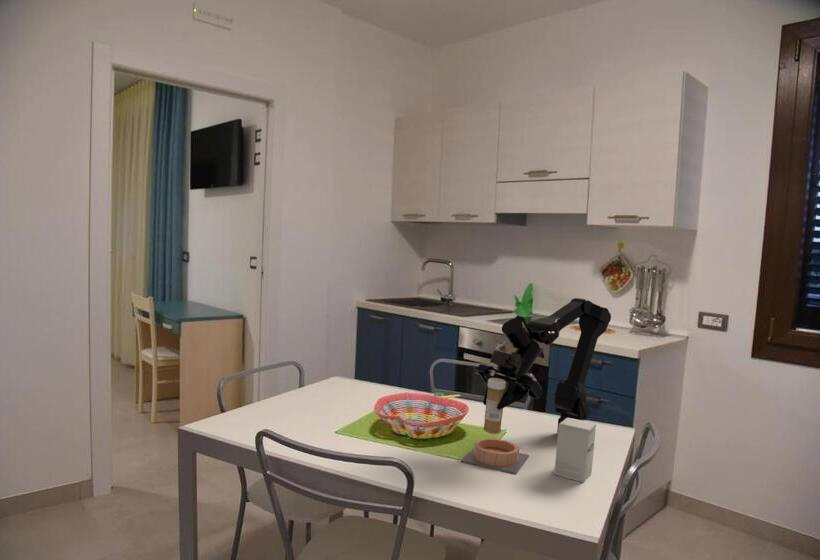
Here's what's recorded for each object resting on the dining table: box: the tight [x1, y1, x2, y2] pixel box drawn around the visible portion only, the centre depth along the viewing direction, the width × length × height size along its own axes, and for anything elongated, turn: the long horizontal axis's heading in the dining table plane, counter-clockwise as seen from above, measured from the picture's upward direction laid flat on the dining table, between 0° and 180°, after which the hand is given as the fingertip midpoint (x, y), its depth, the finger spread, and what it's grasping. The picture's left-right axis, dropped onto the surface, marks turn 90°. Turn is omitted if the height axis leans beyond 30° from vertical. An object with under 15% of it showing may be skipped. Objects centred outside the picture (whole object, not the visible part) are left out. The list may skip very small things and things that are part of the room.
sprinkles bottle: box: [482, 378, 507, 435], centre depth 147 cm, size 5×5×14 cm
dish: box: [460, 437, 530, 475], centre depth 146 cm, size 14×14×3 cm
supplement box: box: [553, 418, 597, 483], centre depth 139 cm, size 7×7×13 cm
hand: (491, 406), depth 146 cm, fingers closed on sprinkles bottle, 4 cm apart
